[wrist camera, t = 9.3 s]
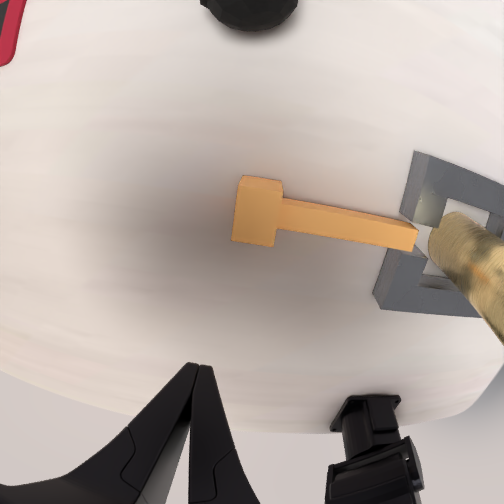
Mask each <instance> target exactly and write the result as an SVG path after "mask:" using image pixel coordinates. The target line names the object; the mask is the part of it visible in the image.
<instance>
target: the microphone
mask: <svg viewBox="0 0 504 504" xmlns="http://www.w3.org/2000/svg"><path fill="white" fill-rule="evenodd" d="M297 3H298V0H200V4H201V5H203V6H204V7H206V8H208V9H210V11H211V13H212V14H213V15H214V16H215V17H216V18H217V19H218V20H219V21H220V22H221V23H223V24H225V25H226V26H228V27H230V28H233V29H238V30H242V31H255V32H256V31H261V30H266V29H270V28H272V27H274V26H276V25H279V24H280V23H282V22H283V21H284V20H285V19H286V18H288V17H289V16H290V14H291V13H292V12H293V11H294V9H295V8H296V7H297Z"/></svg>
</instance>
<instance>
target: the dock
mask: <svg viewBox="0 0 504 504" xmlns="http://www.w3.org/2000/svg"><path fill="white" fill-rule="evenodd" d="M447 198H451V199H455V200H458V201H461V202H464V203H466V204H469V205H472V206H475V207H478V208H481V209H484V210H486V211H489V212H491V213H490V216H489V219H488V222H487V226H486V229H487V230H489V231H490V232H492V233H493V234H495V235H496V236H497V237H499V238H500V239H502V240H503V241H504V186H503V185H501V184H499V183H497V182H495V181H492V180H490V179H488V178H486V177H483V176H481V175H479V174H476V173H474V172H472V171H469V170H467V169H464V168H462V167H459V166H457V165H454V164H452V163H449V162H446V161H444V160H441V159H438V158H435V157H433V156H430V155H427V154H423V153H420V152H417V151H414V155H413V159H412V164H411V168H410V172H409V177H408V181H407V185H406V189H405V193H404V197H403V200H402V204H401V208H400V211H399V212H400V213H402V214H403V215H404V216H405V217H406V218H408V219H409V220H410V221H411V222H413V223H417V224H421V225H425V226H430V227H434V228H439V225H440V222H441V219H442V216H443V212H444V209H445V206H446V202H447ZM427 260H428V258H427V257H426V256H425V255H424V254H423V253H422V252H421V251H420V250H419V249H418V248H417V247H416V246H415V245H414V247H413V250H412V252H409V251H404V250H399V249H393V248H388V251H387V254H386V257H385V260H384V263H383V266H382V268H381V271H380V274H379V277H378V280H377V282H376V285H375V288H374V291H373V295H374V297H375V299H376V301H377V303H378V305H379V307H380V309H383V310H392V311H403V312H413V313H424V314H436V315H448V316H462V317H476V318H482V317H481V315H480V314H479V313H478V312H477V311H476V309H475V308H474V307H473V306H472V304H471V303H470V302H469V301H468V300H467V299H466V297H465V296H464V295H463V294H462V293H461V292H460V290H459V289H458V288H457V287H456V286H455V285H454V284H453V282H452V281H451V280H450V279H449V278H443V277H437V276H430V275H424V274H422V273H423V270H424V268H425V265H426V263H427Z"/></svg>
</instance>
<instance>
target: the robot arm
mask: <svg viewBox="0 0 504 504" xmlns="http://www.w3.org/2000/svg"><path fill="white" fill-rule="evenodd" d="M400 402H401V398H400V396H382V397H349V398H348V399H347V400H346V402H345V404H344V405H343V407H342V409H341V410H340V412H339V413H338V415H337V417H336V418H335V420H334V422H333V423H332V425H331V426H330V431H331V432H342V435H343V442H344V448H345V454H346V461H344V462H341V463H338V464H332V465H329V466H328V472H327V483H326V493H325V504H421V500H420V495H419V491H421V490H423V489H424V481H423V475H422V469H421V464H420V460H419V457H418V454H417V451H416V448H415V446H414V444H413V442H412V440H411V438H410V436H407V437H404V439H402V440H401V437H400V434H399V430H398V428H399V426H398V423H397V419H396V416H395V413H394V410H395V408H396V407H397V406H398V404H399V403H400ZM189 428H190V446H189V488H188V489H189V490H188V504H260V502H259V500H258V499H257V497H256V495H255V493H254V491H253V489H252V488H251V486H250V484H249V482H248V479H247V477H246V475H245V474H244V471H243V468H242V466H241V463H240V460H239V457H238V454H237V451H236V449H235V445H234V442H233V439H232V436H231V432H230V429H229V425H228V422H227V418H226V415H225V411H224V408H223V404H222V401H221V397H220V394H219V390H218V386H217V383H216V379H215V375H214V371H213V368H212V367H211V366H208V365H200V366H199V364H197V363H191V362H187V363H186V364H185V365H184V366H183V367H182V368H181V369H180V370H179V371H178V373H177V374H176V375H175V376H174V377H173V378H172V379H171V380H170V381H169V382H168V383H167V384H166V385H165V386H164V387H163V388H162V390H161V391H160V392H159V393H158V394H157V395H156V396H155V397H154V398H153V399H152V400H151V401H150V402H149V403H148V404H147V405H146V406H145V407H144V408H143V409H142V411H141V412H140V413H139V414H138V415H137V416H136V417H135V418H134V419H133V420H132V421H131V422H130V423H129V424H128V427H125V428H124V429H123V430H122V431H121V432H120V433H119V434H118V435H117V436H116V437H115V438H114V439H113V440H112V441H111V442H110V443H108V444H107V445H106V446H105V447H103V448H102V449H101V450H100V451H99V452H97V453H96V454H95V455H93V456H92V457H90V458H89V459H88V460H86V461H85V462H84V463H82V464H81V465H80V466H78V467H77V468H75V469H74V470H73V471H71V472H69V473H68V474H66V475H64V476H61V477H58V478H54V479H49V480H44V481H40V482H34V483H29V484H23V485H17V486H6V485H3V484H0V504H165V503H166V499H167V496H168V493H169V490H170V487H171V484H172V481H173V478H174V475H175V472H176V468H177V465H178V462H179V459H180V456H181V453H182V450H183V447H184V444H185V441H186V438H187V435H188V432H189ZM406 458H409V459H408V460H406Z"/></svg>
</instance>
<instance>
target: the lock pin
mask: <svg viewBox="0 0 504 504" xmlns="http://www.w3.org/2000/svg"><path fill="white" fill-rule="evenodd" d="M282 197H283V188H282V182H281V181H277V180H271V179H265V178H258V177H252V176H245V175H243V176H242V178H241V180H240V182H239V185H238V190H237V198H236V205H235V213H234V221H233V228H232V236H231V241H236V242H242V243H249V244H255V245H262V246H268V247H273V246H274V241H275V235H276V230H277V229H283V230H290V231H296V232H302V233H308V234H314V235H320V236H326V237H332V238H337V239H343V240H349V241H355V242H360V243H366V244H371V245H377V246H382V247H388V248H393V249H399V250H404V251H409V252H412V250H413V247H414V244H415V241H416V238H417V235H418V232H419V230H418V229H416V228H415V227H414V226H413V225H412V224H411V223H408V222H403V221H399V220H395V219H390V218H386V217H381V216H376V215H372V214H367V213H362V212H357V211H352V210H347V209H342V208H337V207H332V206H326V205H321V204H315V203H310V202H304V201H298V200H293V199H287V198H282Z"/></svg>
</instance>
